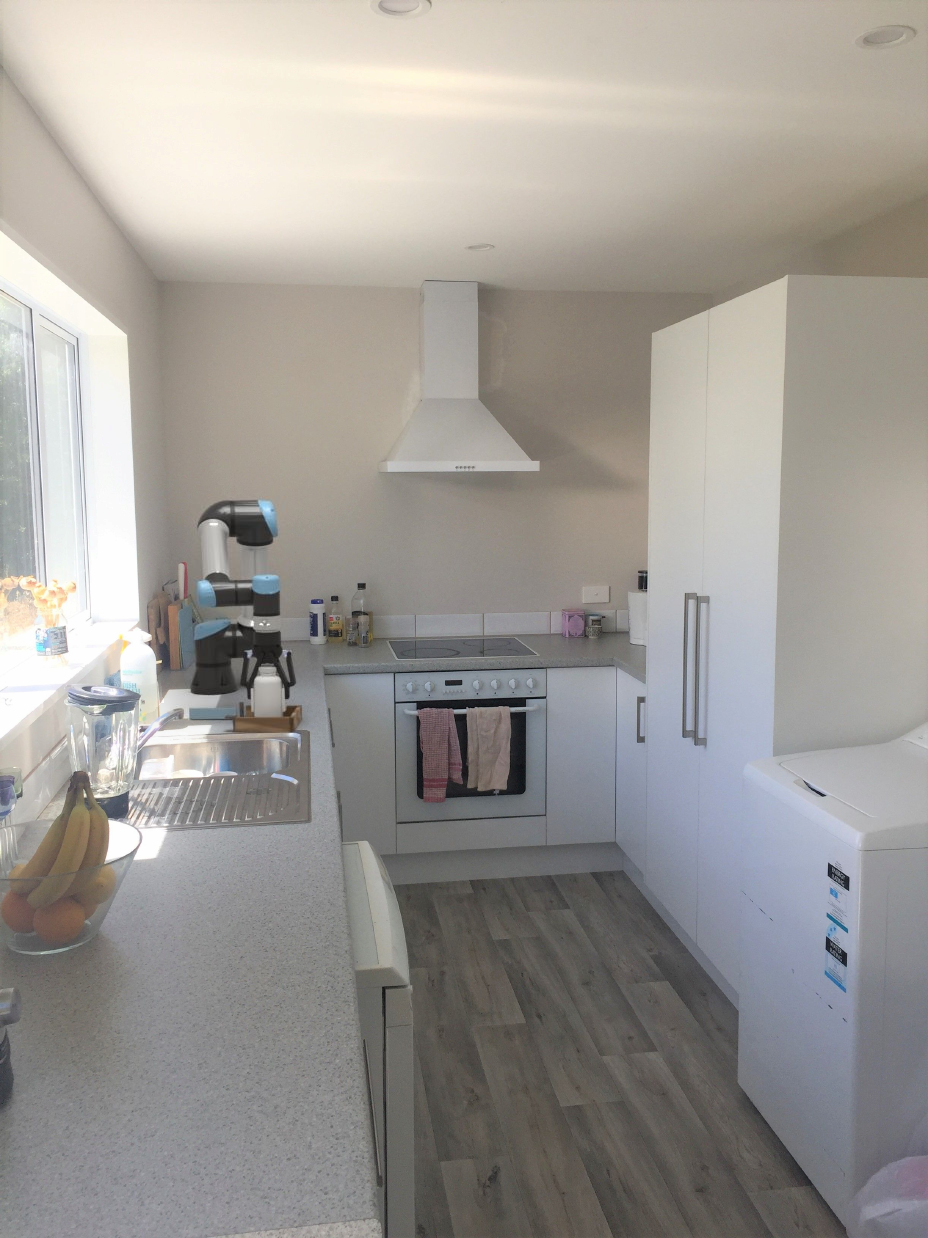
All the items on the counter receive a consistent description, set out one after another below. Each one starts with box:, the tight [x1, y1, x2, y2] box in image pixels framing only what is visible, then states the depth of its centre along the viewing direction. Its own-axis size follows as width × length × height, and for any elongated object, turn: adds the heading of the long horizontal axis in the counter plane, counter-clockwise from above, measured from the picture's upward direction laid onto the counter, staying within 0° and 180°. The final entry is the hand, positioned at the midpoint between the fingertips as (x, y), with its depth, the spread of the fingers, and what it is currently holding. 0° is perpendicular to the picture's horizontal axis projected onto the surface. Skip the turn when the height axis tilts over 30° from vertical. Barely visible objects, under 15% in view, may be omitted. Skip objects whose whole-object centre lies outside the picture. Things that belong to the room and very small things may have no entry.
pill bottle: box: [253, 664, 284, 717], centre depth 268 cm, size 8×8×15 cm
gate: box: [188, 707, 238, 720], centre depth 276 cm, size 14×1×3 cm, turn 91°
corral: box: [224, 701, 303, 733], centre depth 269 cm, size 16×19×5 cm
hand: (268, 710), depth 269 cm, fingers closed on pill bottle, 8 cm apart
